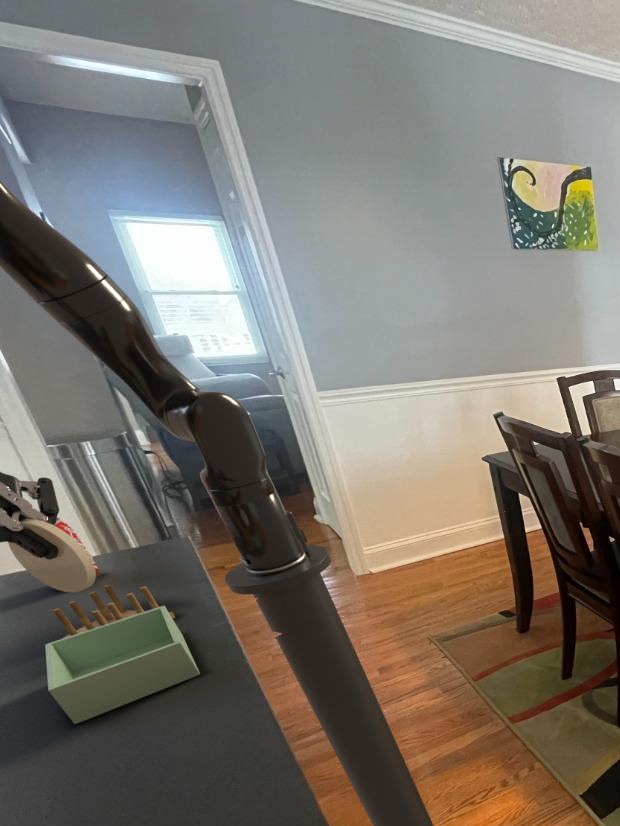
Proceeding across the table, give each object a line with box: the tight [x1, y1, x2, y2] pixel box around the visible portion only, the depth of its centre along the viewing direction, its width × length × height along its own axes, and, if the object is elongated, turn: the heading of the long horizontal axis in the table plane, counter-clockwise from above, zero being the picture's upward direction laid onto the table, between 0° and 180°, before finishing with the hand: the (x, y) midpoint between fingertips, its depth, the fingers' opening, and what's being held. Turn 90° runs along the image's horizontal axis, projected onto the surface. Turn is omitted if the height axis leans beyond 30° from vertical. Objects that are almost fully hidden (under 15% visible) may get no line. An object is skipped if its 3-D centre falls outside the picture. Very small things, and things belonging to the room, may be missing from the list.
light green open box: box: [44, 605, 201, 725], centre depth 83 cm, size 15×13×6 cm
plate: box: [7, 519, 97, 594], centre depth 75 cm, size 1×10×10 cm, turn 82°
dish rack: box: [52, 584, 176, 639], centre depth 94 cm, size 8×11×6 cm
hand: (62, 551), depth 75 cm, fingers closed on plate, 1 cm apart
